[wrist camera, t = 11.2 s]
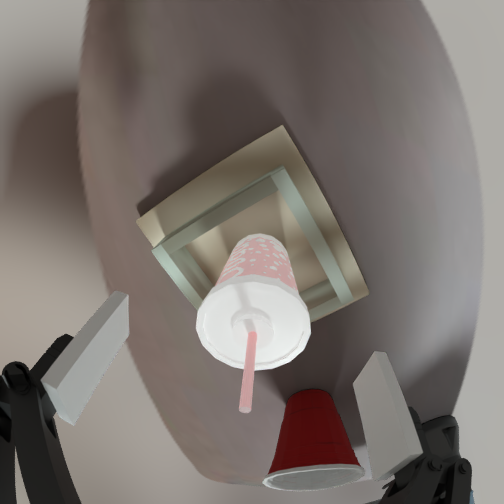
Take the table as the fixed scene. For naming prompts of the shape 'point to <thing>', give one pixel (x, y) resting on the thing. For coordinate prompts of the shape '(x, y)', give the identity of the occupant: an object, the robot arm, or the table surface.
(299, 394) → the plastic cup
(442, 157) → the table surface
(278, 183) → the cup stand
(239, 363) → the beverage cup
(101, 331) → the robot arm
